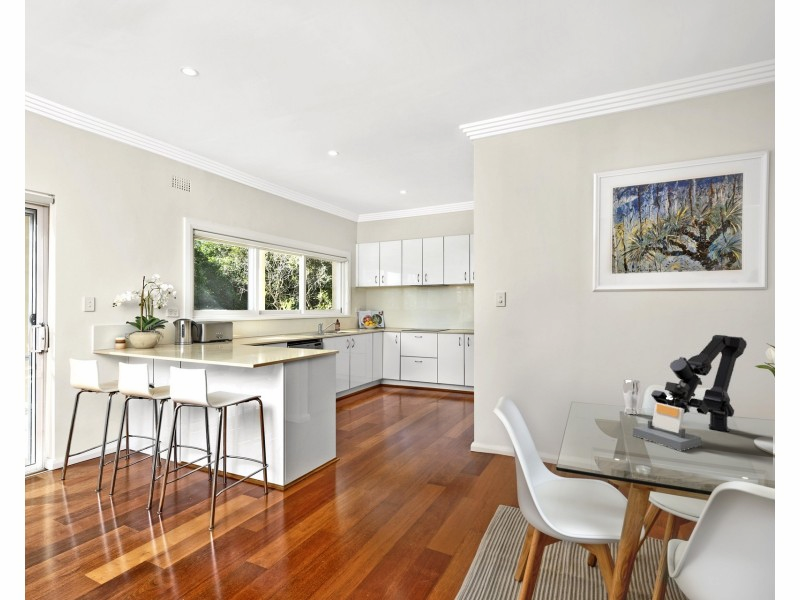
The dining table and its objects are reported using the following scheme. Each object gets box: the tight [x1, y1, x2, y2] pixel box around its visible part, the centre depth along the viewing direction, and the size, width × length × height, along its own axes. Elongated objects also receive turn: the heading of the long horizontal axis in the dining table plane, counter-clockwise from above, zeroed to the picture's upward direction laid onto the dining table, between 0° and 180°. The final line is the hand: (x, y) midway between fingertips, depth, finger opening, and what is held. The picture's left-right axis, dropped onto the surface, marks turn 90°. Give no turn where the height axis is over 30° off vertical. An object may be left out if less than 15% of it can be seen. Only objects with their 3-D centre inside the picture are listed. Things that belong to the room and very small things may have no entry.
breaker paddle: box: [652, 401, 685, 433], centre depth 161 cm, size 2×10×9 cm, turn 26°
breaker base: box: [632, 419, 702, 451], centre depth 161 cm, size 12×18×6 cm, turn 26°
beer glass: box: [622, 379, 641, 414], centre depth 197 cm, size 7×7×15 cm
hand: (669, 419), depth 162 cm, fingers closed, pressing on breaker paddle
